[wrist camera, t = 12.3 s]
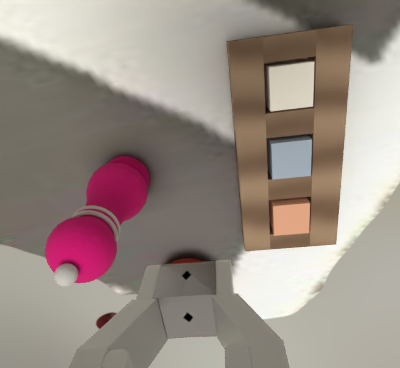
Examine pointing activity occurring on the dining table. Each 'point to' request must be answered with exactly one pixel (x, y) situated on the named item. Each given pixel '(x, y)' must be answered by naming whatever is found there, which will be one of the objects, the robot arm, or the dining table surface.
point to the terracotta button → (289, 216)
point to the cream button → (289, 85)
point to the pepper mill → (97, 222)
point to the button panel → (290, 132)
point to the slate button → (289, 156)
